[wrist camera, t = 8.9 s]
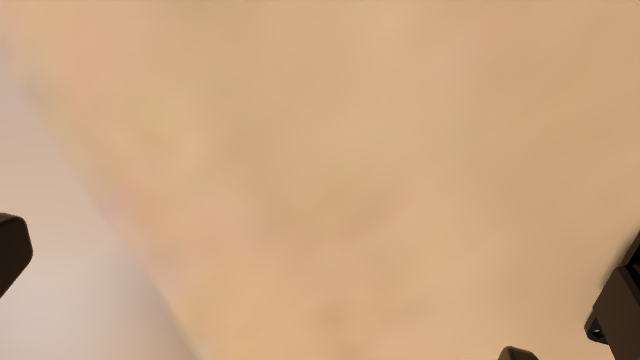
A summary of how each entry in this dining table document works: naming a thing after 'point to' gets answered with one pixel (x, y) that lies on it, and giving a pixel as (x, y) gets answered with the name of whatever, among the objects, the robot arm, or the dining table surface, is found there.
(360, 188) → the dining table surface
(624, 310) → the robot arm
